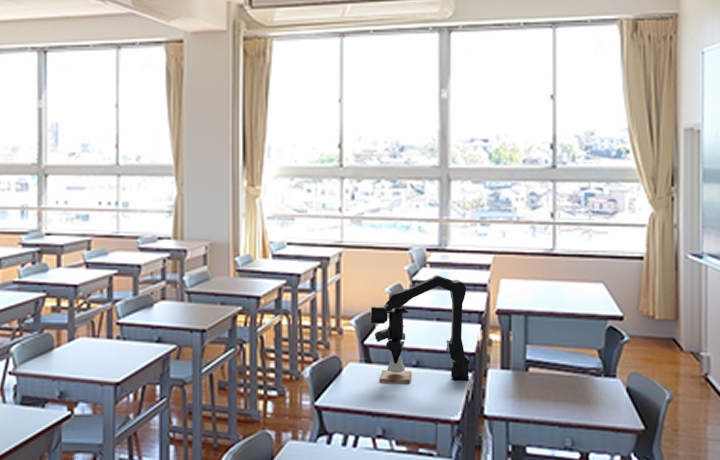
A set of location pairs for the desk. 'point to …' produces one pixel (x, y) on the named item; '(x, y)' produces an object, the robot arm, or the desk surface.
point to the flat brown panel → (395, 377)
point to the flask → (396, 365)
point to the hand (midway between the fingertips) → (396, 361)
